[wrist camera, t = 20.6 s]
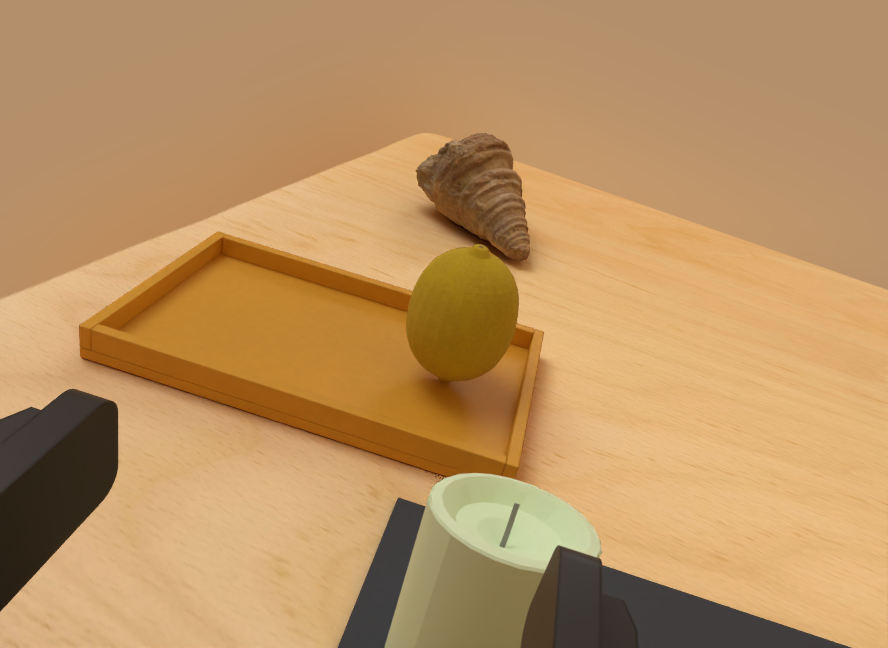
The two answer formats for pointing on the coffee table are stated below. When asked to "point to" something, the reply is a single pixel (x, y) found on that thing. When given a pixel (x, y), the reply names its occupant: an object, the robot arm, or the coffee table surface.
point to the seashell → (479, 191)
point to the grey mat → (650, 604)
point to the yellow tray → (314, 356)
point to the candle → (482, 562)
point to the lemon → (462, 314)
